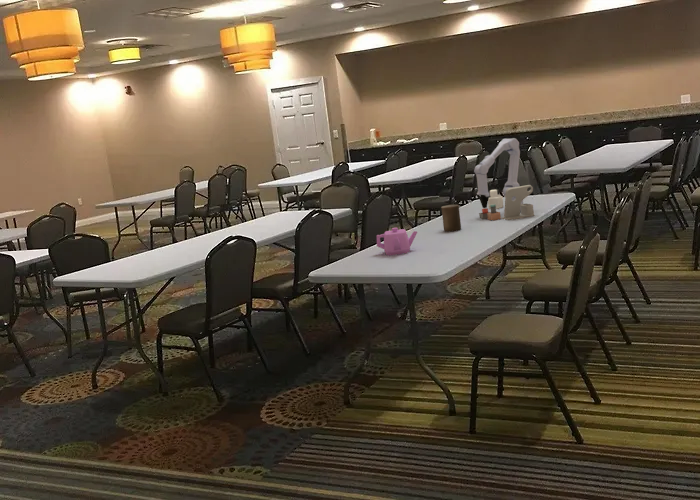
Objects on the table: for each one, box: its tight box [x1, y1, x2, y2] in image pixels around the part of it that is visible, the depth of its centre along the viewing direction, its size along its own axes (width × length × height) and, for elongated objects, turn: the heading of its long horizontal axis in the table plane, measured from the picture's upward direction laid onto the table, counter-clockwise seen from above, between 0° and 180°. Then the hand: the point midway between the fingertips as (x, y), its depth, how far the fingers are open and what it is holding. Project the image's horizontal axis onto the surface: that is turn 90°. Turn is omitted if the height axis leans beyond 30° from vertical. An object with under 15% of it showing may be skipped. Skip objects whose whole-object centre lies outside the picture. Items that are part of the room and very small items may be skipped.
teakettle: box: [376, 227, 418, 256], centre depth 363 cm, size 17×17×12 cm
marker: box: [490, 204, 497, 214], centre depth 420 cm, size 3×3×8 cm
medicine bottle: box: [487, 188, 504, 210], centre depth 462 cm, size 7×7×12 cm
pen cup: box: [487, 210, 502, 221], centre depth 421 cm, size 6×6×4 cm
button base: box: [478, 211, 491, 220], centre depth 430 cm, size 6×6×3 cm
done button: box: [481, 207, 489, 214], centre depth 430 cm, size 3×3×3 cm
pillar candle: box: [441, 204, 462, 232], centre depth 404 cm, size 10×10×15 cm
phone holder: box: [500, 184, 535, 221], centre depth 417 cm, size 17×10×18 cm, turn 104°
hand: (484, 207), depth 429 cm, fingers closed
